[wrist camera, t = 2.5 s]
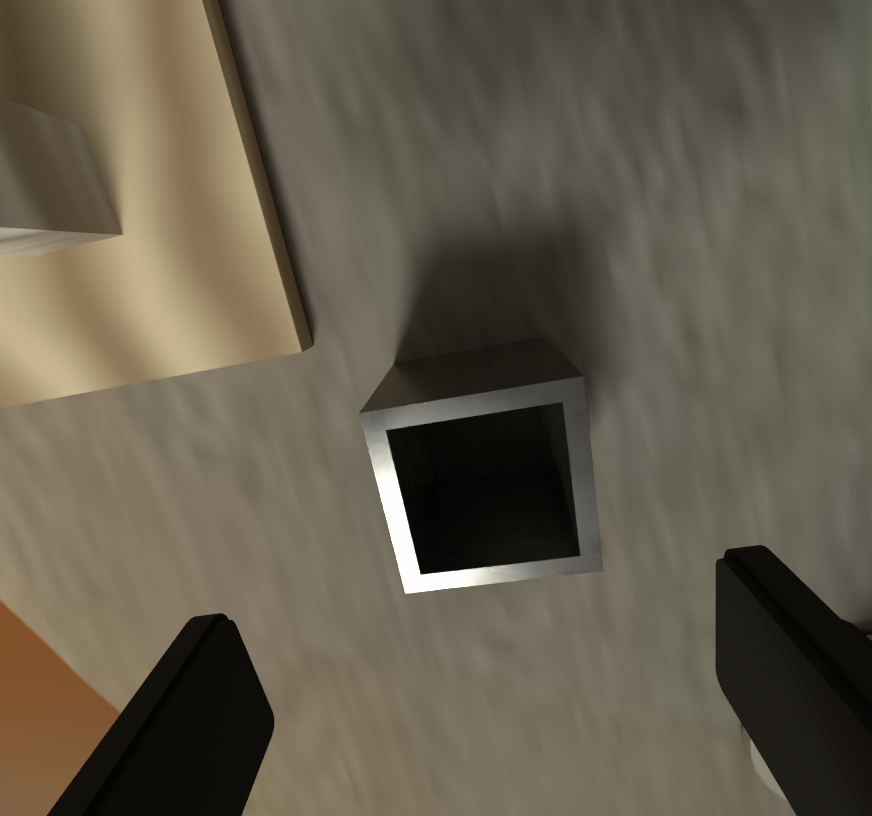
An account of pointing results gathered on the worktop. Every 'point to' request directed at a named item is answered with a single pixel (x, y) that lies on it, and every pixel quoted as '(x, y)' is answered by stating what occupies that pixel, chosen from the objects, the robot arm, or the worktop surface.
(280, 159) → the worktop surface
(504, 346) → the square metal tube
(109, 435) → the worktop surface
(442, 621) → the worktop surface
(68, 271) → the post board
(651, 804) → the worktop surface
